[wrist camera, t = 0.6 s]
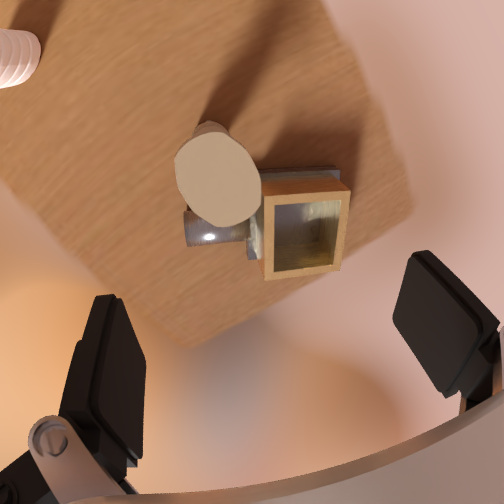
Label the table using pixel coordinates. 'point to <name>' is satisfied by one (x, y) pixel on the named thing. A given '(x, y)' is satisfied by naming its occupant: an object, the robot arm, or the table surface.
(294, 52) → the table surface
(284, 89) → the table surface
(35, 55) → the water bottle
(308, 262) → the socket
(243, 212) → the handle
